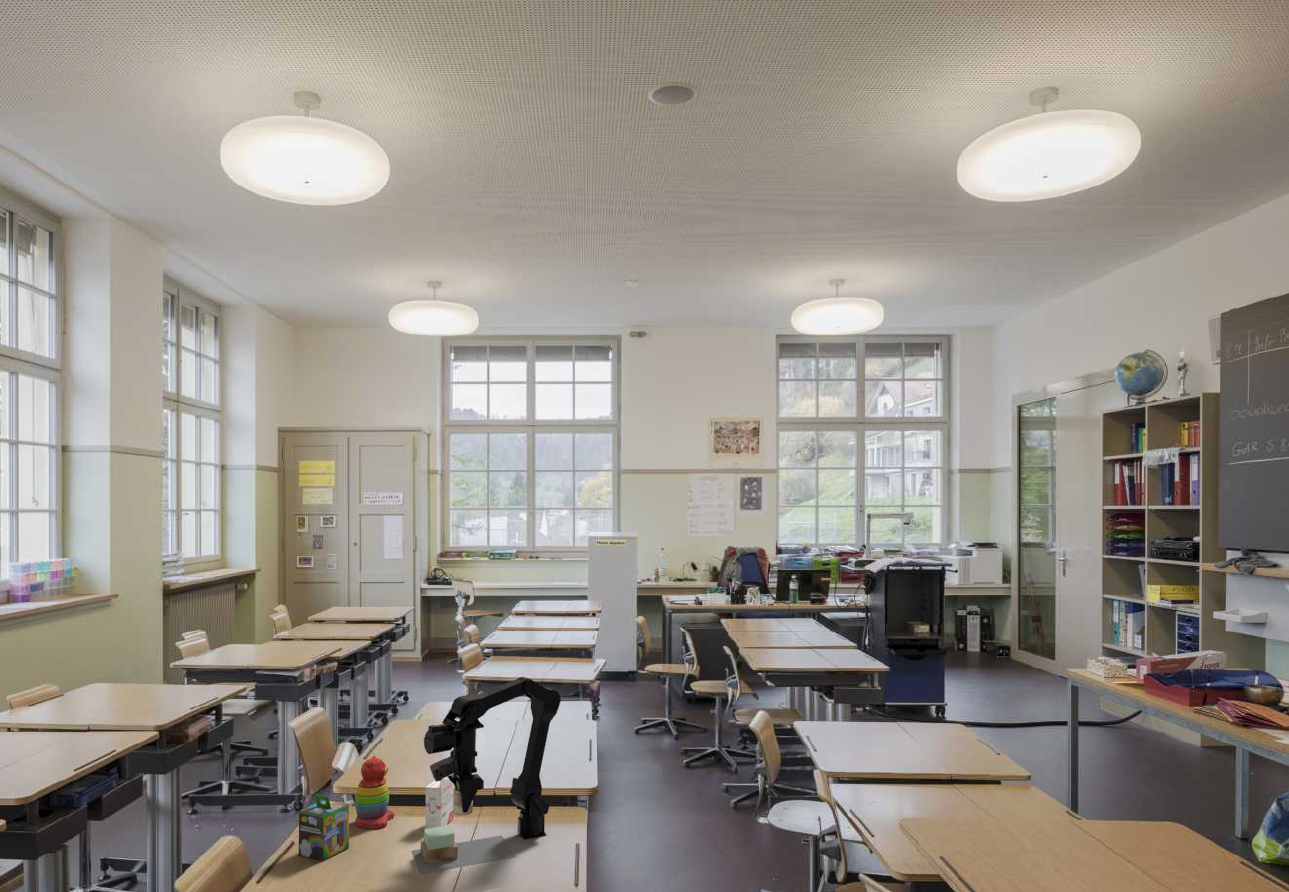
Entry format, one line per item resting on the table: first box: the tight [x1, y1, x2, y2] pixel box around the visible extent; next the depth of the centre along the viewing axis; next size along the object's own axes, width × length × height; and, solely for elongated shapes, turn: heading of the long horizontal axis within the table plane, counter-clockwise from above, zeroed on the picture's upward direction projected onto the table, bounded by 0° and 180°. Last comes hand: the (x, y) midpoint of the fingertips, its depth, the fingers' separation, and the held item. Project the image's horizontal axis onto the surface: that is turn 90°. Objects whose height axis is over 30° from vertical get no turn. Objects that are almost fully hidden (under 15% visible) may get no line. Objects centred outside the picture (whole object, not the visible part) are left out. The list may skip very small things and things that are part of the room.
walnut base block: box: [420, 839, 458, 864], centre depth 211 cm, size 8×8×3 cm
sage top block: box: [423, 824, 455, 851], centre depth 212 cm, size 6×6×3 cm
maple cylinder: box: [453, 790, 474, 817], centre depth 213 cm, size 5×5×5 cm
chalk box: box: [298, 793, 350, 862], centre depth 215 cm, size 9×9×15 cm
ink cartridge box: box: [425, 775, 455, 829], centre depth 233 cm, size 9×5×15 cm, turn 168°
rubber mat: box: [411, 834, 517, 875], centre depth 212 cm, size 24×15×1 cm, turn 114°
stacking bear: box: [354, 755, 396, 830], centre depth 236 cm, size 11×10×18 cm
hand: (462, 808), depth 212 cm, fingers closed on maple cylinder, 5 cm apart
